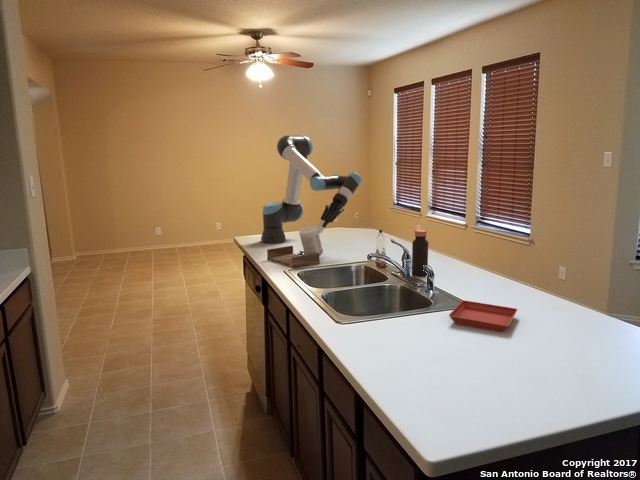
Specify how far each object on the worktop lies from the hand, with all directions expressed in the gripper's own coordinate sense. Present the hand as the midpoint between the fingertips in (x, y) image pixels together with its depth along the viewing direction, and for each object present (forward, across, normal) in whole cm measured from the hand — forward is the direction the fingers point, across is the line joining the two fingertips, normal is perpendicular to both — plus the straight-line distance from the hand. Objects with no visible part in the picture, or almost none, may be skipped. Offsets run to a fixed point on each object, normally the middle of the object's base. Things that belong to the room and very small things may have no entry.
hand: (318, 231), depth 245 cm
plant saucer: (+25, -107, +1) cm, 110 cm away
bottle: (+3, -58, -18) cm, 61 cm away
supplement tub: (+10, +1, -8) cm, 13 cm away
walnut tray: (+21, +1, +2) cm, 21 cm away
